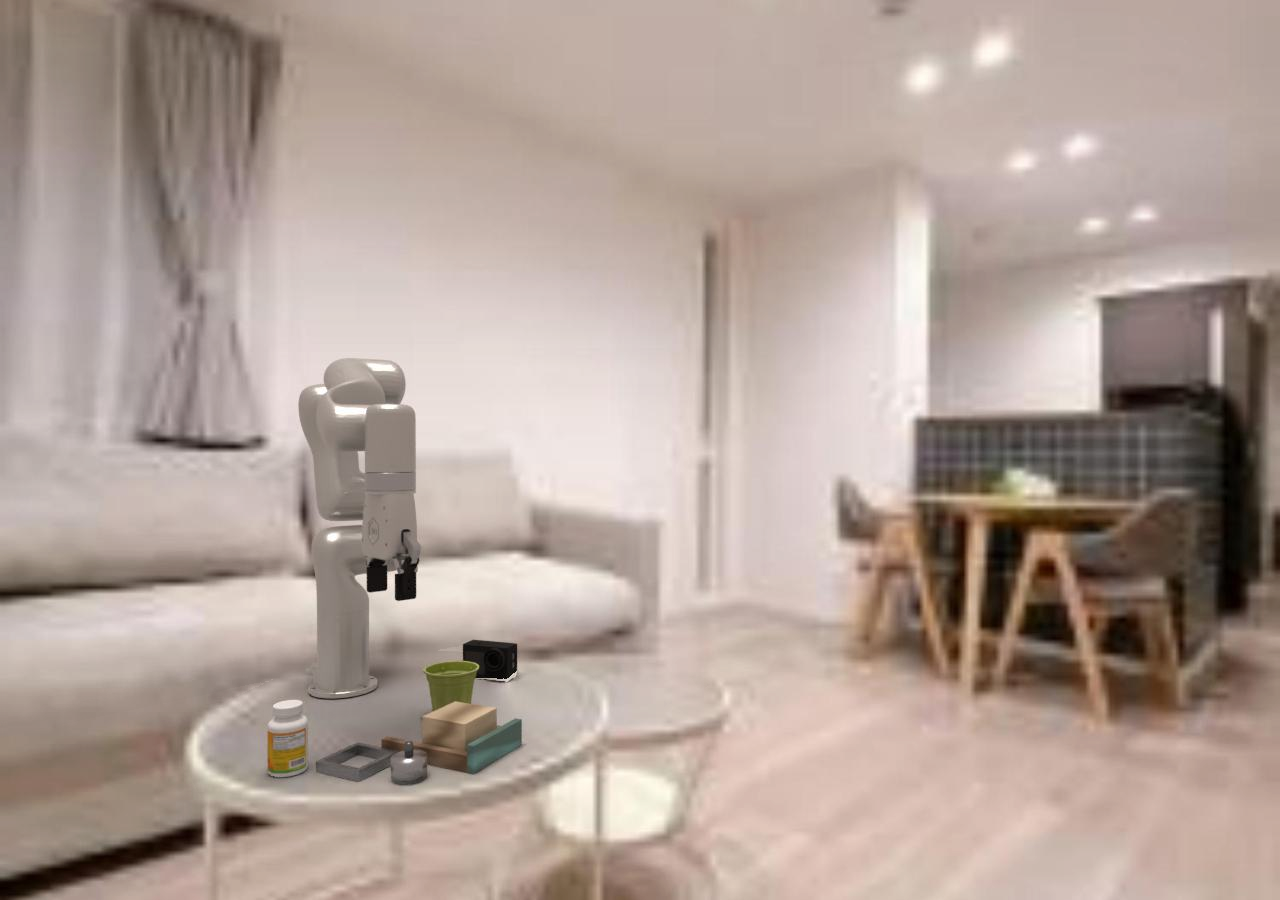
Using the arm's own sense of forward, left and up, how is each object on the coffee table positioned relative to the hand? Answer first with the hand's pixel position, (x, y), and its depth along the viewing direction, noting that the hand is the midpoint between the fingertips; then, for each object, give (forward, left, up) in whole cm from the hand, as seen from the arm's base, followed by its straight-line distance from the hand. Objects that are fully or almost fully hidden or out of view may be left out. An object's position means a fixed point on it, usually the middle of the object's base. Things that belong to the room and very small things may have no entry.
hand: (390, 595), depth 123 cm
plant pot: (-2, +17, -24) cm, 30 cm away
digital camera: (-10, +39, -25) cm, 47 cm away
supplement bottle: (-9, -12, -24) cm, 28 cm away
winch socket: (+3, -6, -24) cm, 25 cm away
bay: (+7, +5, -24) cm, 26 cm away
